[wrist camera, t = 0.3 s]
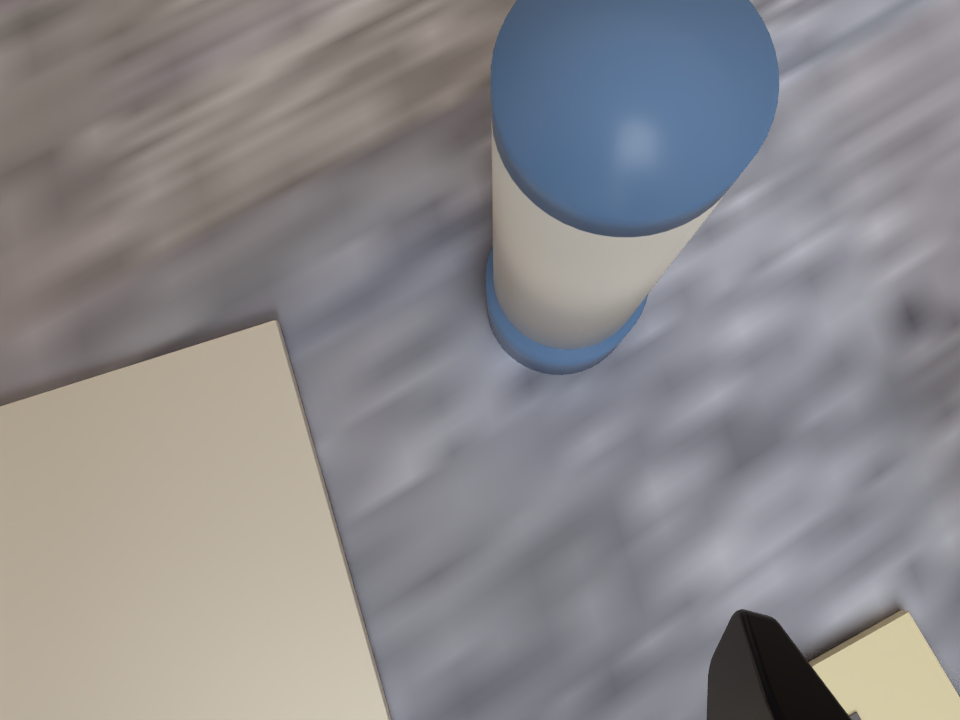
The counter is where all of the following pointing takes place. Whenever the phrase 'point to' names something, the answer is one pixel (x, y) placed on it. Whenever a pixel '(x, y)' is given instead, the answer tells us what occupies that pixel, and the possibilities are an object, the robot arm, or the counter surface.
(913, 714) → the word card
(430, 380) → the counter surface
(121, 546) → the notepad
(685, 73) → the cylinder
